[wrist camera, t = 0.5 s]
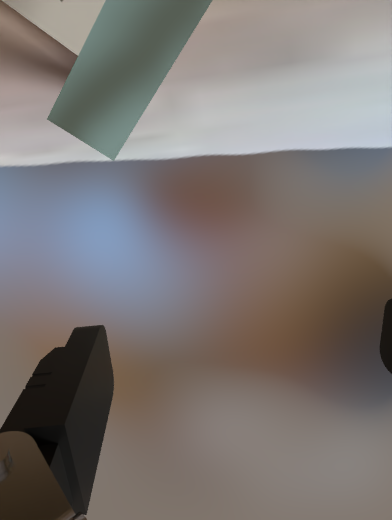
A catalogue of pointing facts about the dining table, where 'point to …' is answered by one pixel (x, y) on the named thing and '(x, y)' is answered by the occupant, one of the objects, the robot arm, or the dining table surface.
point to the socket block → (61, 18)
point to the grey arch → (123, 68)
